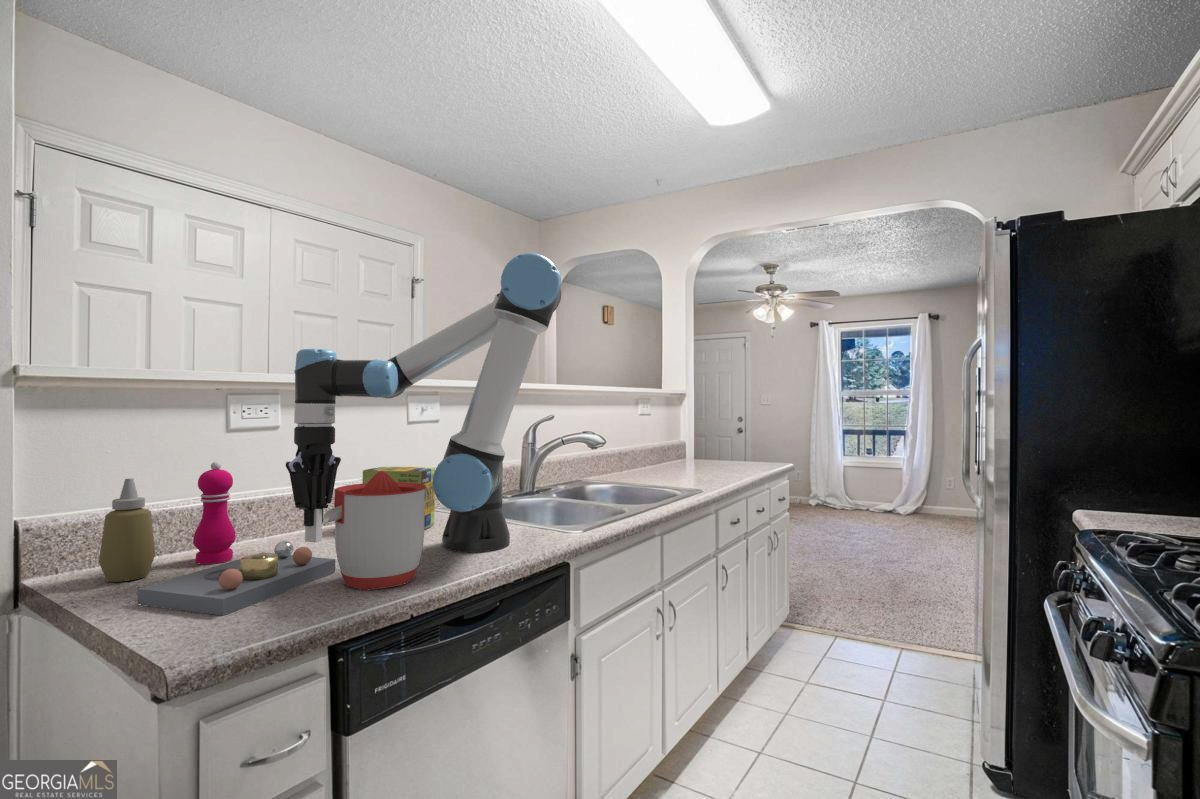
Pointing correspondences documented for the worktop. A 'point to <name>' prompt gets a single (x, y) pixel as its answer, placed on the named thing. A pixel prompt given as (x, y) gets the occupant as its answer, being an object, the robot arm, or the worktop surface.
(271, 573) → the short gold cylinder
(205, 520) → the pepper mill
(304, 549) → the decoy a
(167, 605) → the grey tray
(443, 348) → the robot arm
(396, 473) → the protein box
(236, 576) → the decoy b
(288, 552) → the ball
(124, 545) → the squeeze bottle
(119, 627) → the worktop surface
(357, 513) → the citrus juicer
